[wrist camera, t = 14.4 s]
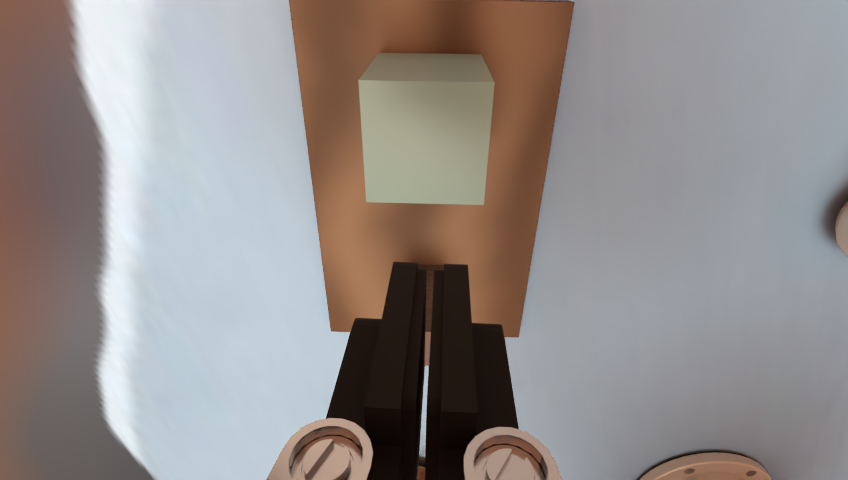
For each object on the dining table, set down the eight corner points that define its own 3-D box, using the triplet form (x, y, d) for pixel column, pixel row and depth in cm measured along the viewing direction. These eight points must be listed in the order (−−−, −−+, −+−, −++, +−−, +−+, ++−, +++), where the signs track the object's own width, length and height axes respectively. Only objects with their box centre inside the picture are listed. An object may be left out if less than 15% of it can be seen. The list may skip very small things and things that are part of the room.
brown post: (444, 265, 30) (445, 332, 24) (443, 295, 31) (444, 365, 26) (406, 264, 30) (398, 331, 24) (406, 294, 31) (399, 364, 26)
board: (570, 1, 22) (574, 2, 22) (516, 329, 34) (518, 337, 33) (293, -4, 23) (288, -3, 22) (333, 324, 34) (331, 331, 33)
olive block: (481, 54, 23) (494, 82, 17) (474, 152, 25) (483, 205, 20) (378, 52, 23) (358, 80, 17) (382, 150, 25) (366, 202, 20)
